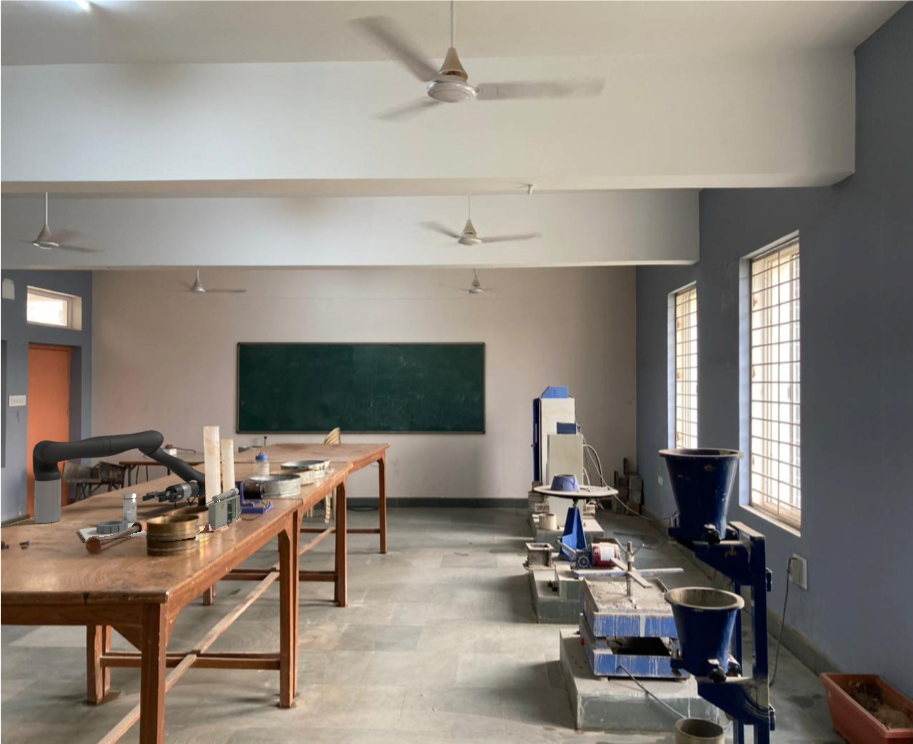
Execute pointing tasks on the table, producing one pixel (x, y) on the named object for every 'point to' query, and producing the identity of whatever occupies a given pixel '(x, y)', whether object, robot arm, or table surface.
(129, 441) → the robot arm
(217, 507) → the geiger counter
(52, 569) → the table surface
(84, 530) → the ring plate
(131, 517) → the piston
